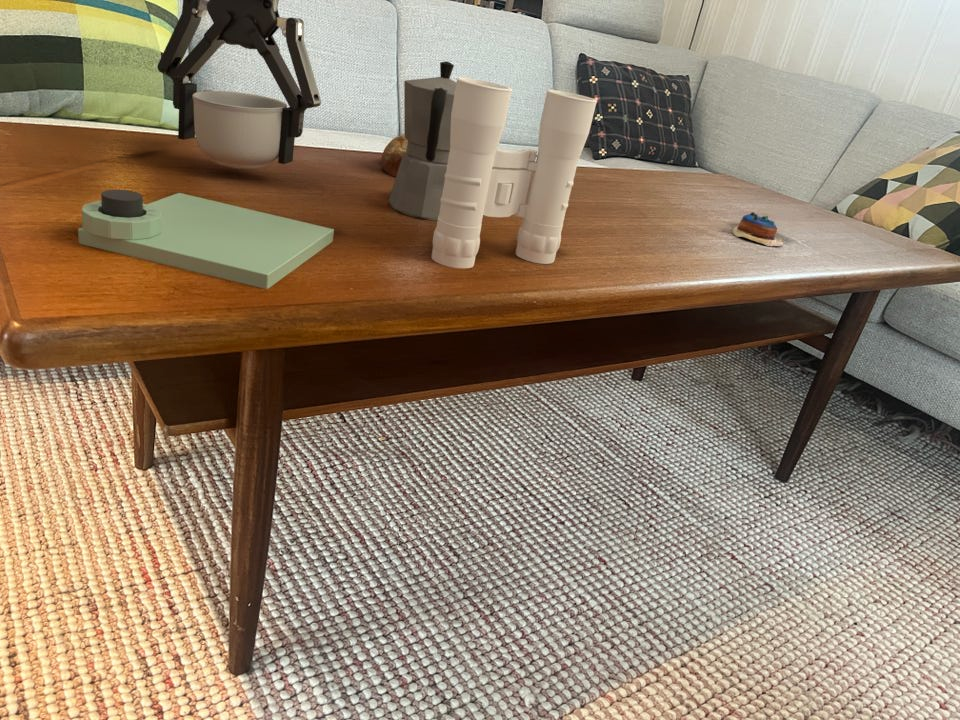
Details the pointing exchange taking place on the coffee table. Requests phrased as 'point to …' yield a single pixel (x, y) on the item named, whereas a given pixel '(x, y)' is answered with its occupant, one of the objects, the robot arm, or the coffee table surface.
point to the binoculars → (508, 173)
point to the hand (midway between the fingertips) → (235, 150)
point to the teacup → (238, 128)
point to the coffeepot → (425, 145)
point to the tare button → (122, 203)
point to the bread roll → (394, 154)
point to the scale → (207, 238)
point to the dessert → (758, 230)
